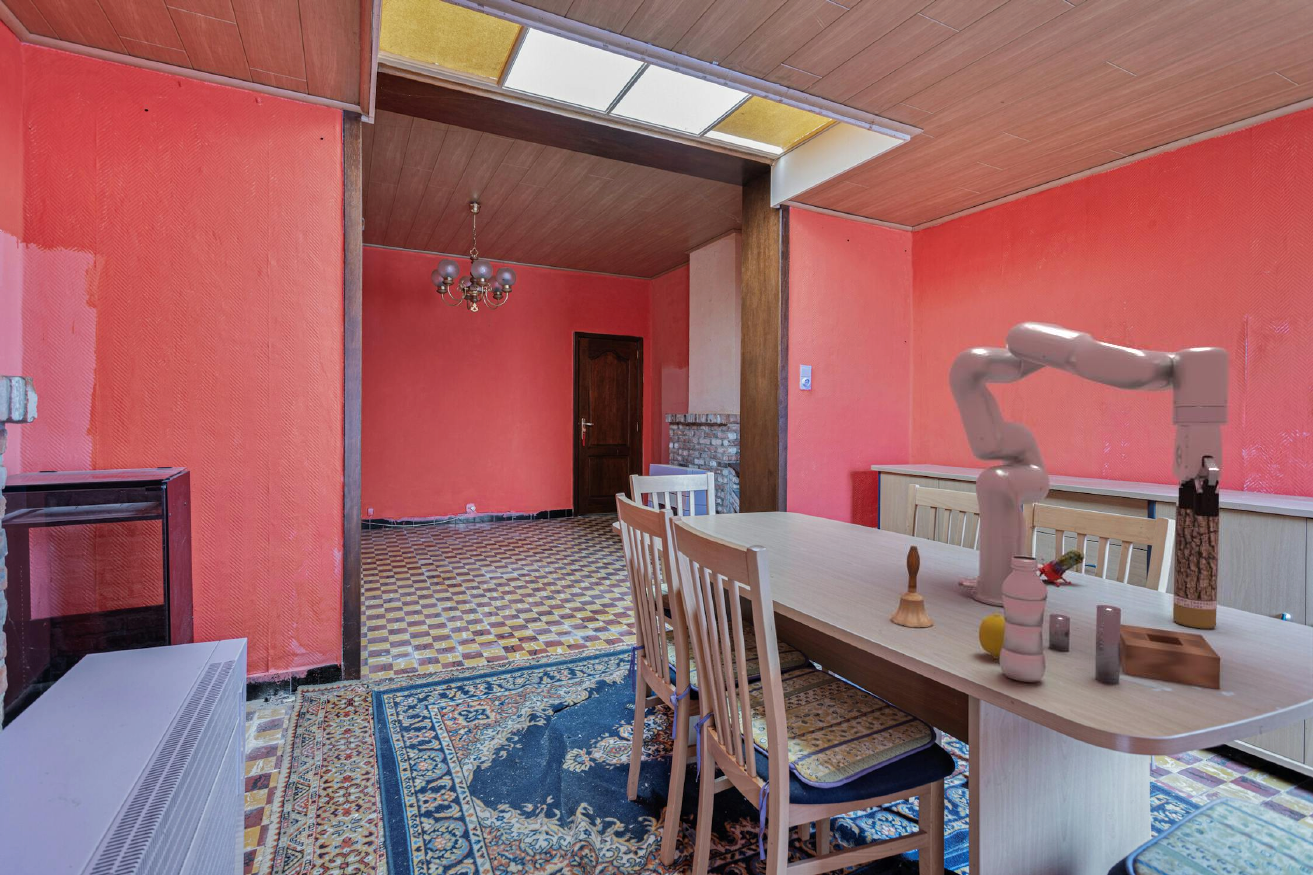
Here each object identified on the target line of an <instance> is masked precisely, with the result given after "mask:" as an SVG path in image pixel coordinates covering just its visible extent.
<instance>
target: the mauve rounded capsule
mask: <svg viewBox="0 0 1313 875" xmlns="http://www.w3.org/2000/svg"><path fill="white" fill-rule="evenodd" d="M1048 618H1049V620H1048V623H1049V624H1048V649H1050V650H1052V651H1055V652H1061V653H1067V652H1070V640H1071V639H1070V633H1071V631H1070V630H1071V617H1069V616H1068V615H1065V614H1058V613H1057V614H1056V613H1052V614H1049V617H1048Z"/></svg>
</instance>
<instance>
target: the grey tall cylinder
mask: <svg viewBox="0 0 1313 875" xmlns="http://www.w3.org/2000/svg"><path fill="white" fill-rule="evenodd" d="M1095 616H1096V622H1095V623H1096V626H1095V628H1096V629H1095V668H1094V669H1095V672H1094V673H1095V674H1094V678H1095V679H1094V680H1095V681H1097V682H1099V683H1100V684H1101V683H1102V684H1104V685H1109V686H1117V685H1120V673H1121V672H1120V669H1121V667H1120V665H1121V662H1120V630H1121V622H1122V610H1121V608H1120V607H1117V606H1113V605H1107V604H1098V605H1096V615H1095Z"/></svg>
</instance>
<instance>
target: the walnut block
mask: <svg viewBox="0 0 1313 875" xmlns="http://www.w3.org/2000/svg"><path fill="white" fill-rule="evenodd" d="M1120 665H1121V666H1122V668H1123V671H1124V674H1126V675H1132V676H1136V677H1137V676H1139V677H1142V678H1143V677H1144V678H1150V679H1155V680H1161V681H1167V682H1174V683H1180V684H1184V685H1185V684H1187V685H1193V686H1198V687H1205V688H1211V689H1217V690H1220V686H1221V685H1220V682H1221V680H1220V679H1221V675H1220V674H1221V657H1220V656H1219V655H1218V653H1217V652H1216V651H1215V649H1214V648H1213V647H1212V646H1211V645H1210V643H1209V642H1208V641H1207V640H1206V639H1205V637H1204V636H1203V635H1202V634H1199V633H1198V634H1196V633H1189V632H1182V631H1181V632H1180V631H1174V630H1173V631H1172V630H1165V629H1159V628H1151V627H1143V626H1135V625H1128V624H1121V630H1120Z"/></svg>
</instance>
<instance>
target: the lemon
mask: <svg viewBox="0 0 1313 875" xmlns="http://www.w3.org/2000/svg"><path fill="white" fill-rule="evenodd" d="M1004 629H1005V619H1004V617H1003V616H1002V615H1000V614H999V613H994V614H992V615H988V616H986V617H985V618H984V619H982V621H981V623H980V625H979V629H978V630H979V631H978V641H979V643H980V645H981V647H982V648H983V650H984V651H985V652H987V653H988V654H990V655H991V656H992V657H993V658H994V659H999V658H1000V652H1001V649H1002V647H1003V637H1004Z"/></svg>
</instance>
